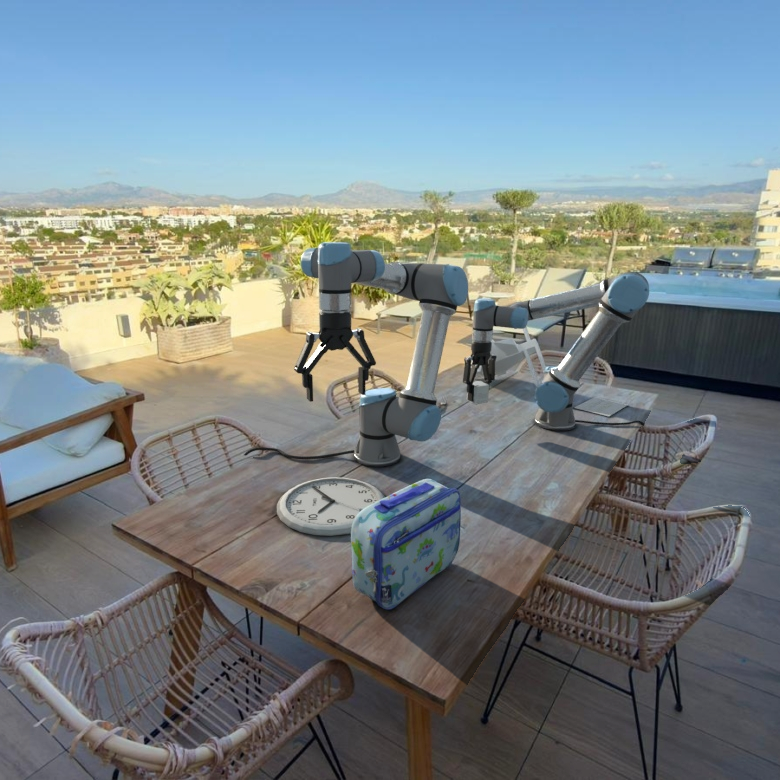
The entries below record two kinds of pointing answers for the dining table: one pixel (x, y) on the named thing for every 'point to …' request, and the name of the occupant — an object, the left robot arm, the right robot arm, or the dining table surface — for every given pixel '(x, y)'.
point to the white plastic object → (514, 355)
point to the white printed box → (480, 393)
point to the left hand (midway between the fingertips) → (336, 396)
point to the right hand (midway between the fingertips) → (477, 399)
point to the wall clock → (326, 505)
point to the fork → (442, 402)
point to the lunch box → (405, 541)
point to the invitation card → (601, 406)
